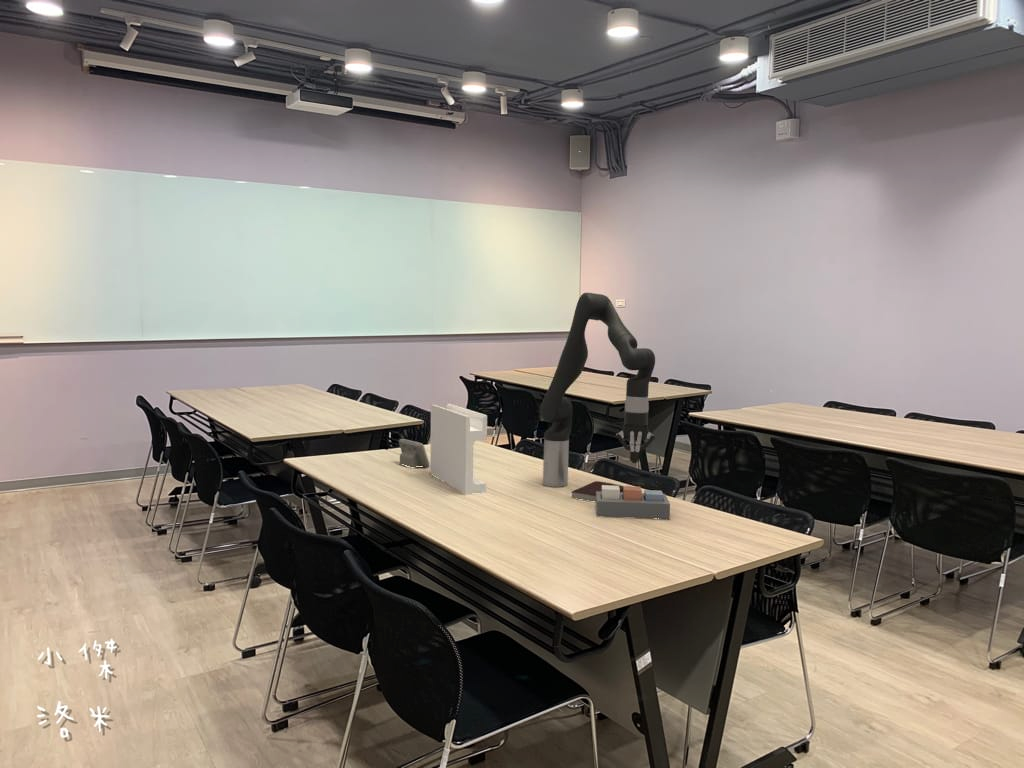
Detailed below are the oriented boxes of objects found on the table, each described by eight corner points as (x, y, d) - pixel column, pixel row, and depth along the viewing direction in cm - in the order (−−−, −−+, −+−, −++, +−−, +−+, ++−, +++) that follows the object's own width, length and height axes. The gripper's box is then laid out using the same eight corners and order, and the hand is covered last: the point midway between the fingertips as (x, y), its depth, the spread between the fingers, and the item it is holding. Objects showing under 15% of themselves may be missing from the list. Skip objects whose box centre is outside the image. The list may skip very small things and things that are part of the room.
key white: (601, 502, 238) (602, 489, 238) (601, 498, 244) (601, 485, 243) (619, 503, 238) (619, 489, 237) (618, 498, 243) (618, 485, 243)
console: (596, 516, 235) (597, 501, 234) (595, 505, 248) (596, 491, 247) (669, 519, 233) (670, 504, 232) (664, 508, 246) (665, 494, 245)
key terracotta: (623, 503, 237) (624, 490, 237) (622, 498, 243) (623, 485, 243) (641, 504, 237) (641, 490, 236) (639, 499, 242) (640, 486, 242)
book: (625, 494, 267) (626, 485, 267) (602, 505, 251) (602, 495, 250) (594, 489, 274) (595, 480, 273) (570, 499, 257) (570, 490, 257)
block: (430, 474, 290) (430, 404, 288) (449, 472, 294) (449, 403, 291) (465, 495, 259) (466, 416, 256) (486, 492, 263) (487, 415, 260)
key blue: (645, 507, 237) (645, 494, 236) (643, 503, 242) (644, 490, 242) (663, 508, 236) (663, 494, 236) (661, 503, 242) (661, 490, 242)
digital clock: (431, 468, 302) (431, 442, 301) (410, 470, 297) (410, 444, 296) (415, 461, 315) (415, 436, 314) (395, 463, 311) (395, 438, 310)
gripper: (655, 409, 240) (653, 461, 242) (615, 407, 241) (613, 459, 243) (658, 412, 233) (655, 466, 235) (616, 410, 234) (614, 464, 236)
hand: (634, 462), depth 239 cm, fingers closed
